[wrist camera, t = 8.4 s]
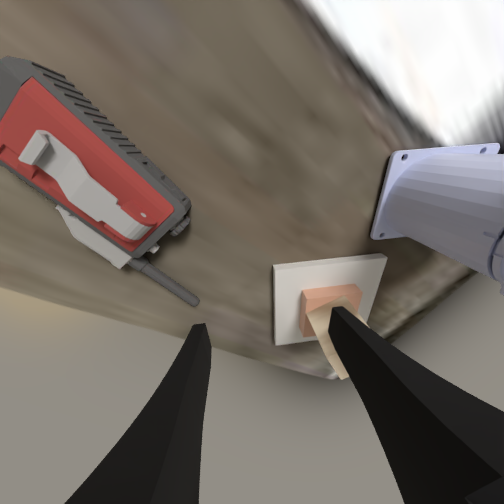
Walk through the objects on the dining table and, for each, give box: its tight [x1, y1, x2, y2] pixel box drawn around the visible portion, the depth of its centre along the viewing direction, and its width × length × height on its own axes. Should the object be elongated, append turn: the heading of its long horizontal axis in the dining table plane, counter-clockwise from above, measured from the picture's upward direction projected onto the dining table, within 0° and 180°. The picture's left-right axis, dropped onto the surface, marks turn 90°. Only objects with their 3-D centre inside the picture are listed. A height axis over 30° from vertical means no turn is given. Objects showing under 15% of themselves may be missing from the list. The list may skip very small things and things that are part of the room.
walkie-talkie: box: [0, 56, 199, 306], centre depth 15 cm, size 9×4×20 cm
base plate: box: [273, 253, 388, 345], centre depth 22 cm, size 12×12×2 cm
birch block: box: [306, 295, 370, 380], centre depth 19 cm, size 4×4×5 cm
